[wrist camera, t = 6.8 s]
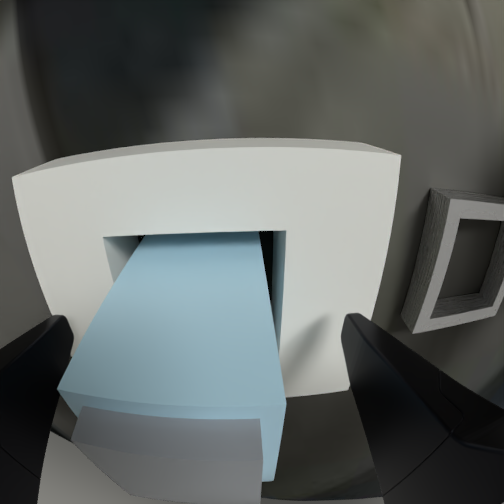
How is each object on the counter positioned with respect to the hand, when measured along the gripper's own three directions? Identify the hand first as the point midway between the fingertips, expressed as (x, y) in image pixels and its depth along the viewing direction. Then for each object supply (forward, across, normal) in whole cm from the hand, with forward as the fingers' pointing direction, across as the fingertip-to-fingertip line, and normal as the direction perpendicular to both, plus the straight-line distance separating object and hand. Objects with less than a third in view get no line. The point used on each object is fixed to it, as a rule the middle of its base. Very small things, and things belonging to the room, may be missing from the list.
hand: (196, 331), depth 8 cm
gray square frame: (+4, -13, 0) cm, 14 cm away
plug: (+4, 0, 0) cm, 4 cm away
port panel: (+4, 0, 0) cm, 4 cm away
